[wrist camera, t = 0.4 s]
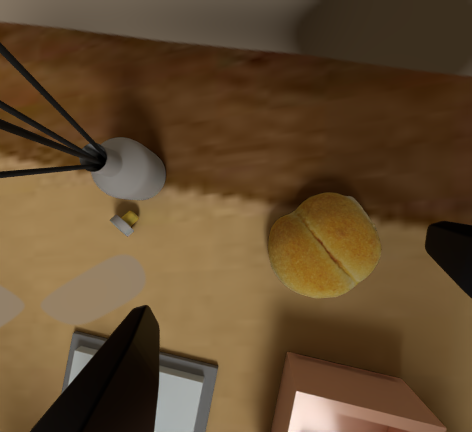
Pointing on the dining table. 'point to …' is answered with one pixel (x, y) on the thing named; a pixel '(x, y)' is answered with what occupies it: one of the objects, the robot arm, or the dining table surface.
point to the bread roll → (324, 246)
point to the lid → (162, 394)
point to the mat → (164, 360)
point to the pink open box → (346, 400)
